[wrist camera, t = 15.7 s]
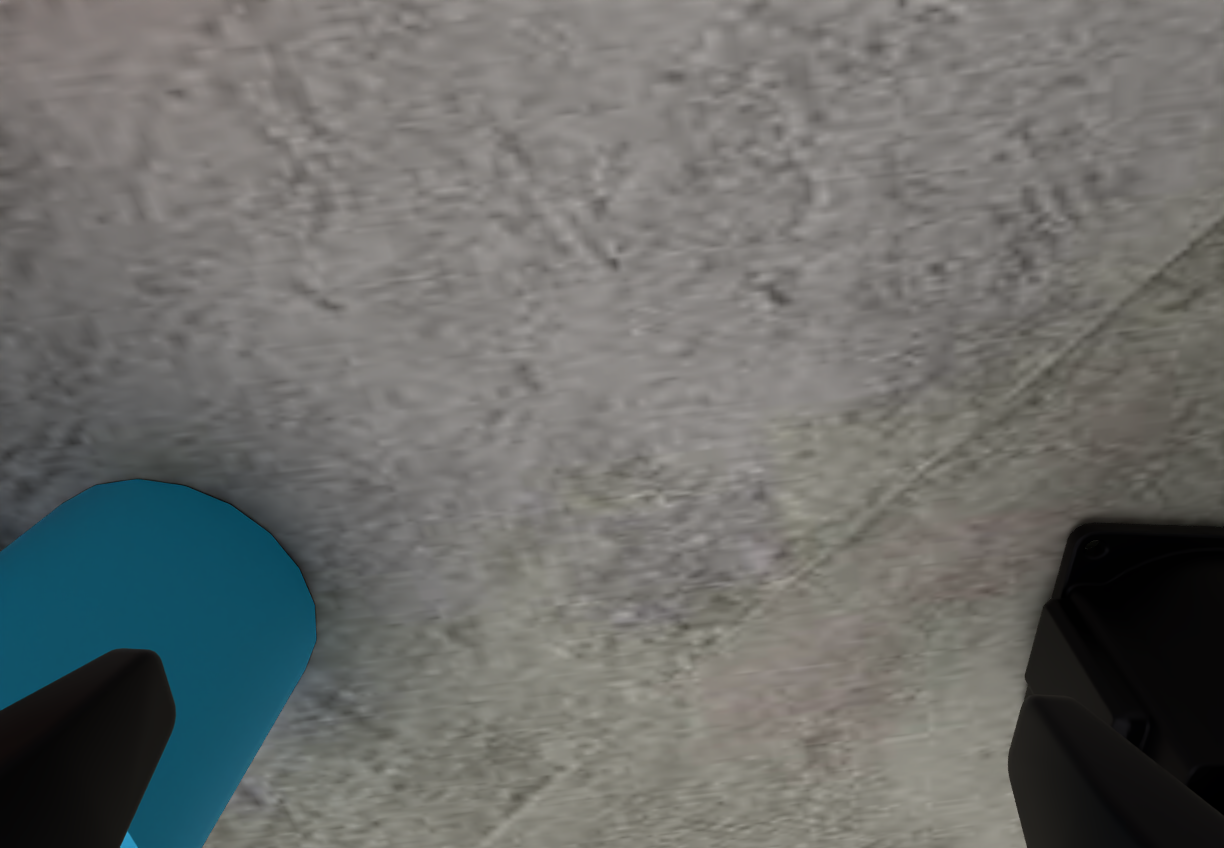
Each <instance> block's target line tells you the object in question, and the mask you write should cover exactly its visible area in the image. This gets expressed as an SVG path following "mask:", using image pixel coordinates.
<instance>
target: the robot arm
mask: <svg viewBox="0 0 1224 848" xmlns="http://www.w3.org/2000/svg"><path fill="white" fill-rule="evenodd" d="M1096 540H1099V542H1098V543H1097V545H1095V546H1094V547H1092V548H1087V549H1086V548H1085V547H1086V546H1087V544H1089V543H1090V542H1092V541H1096ZM1025 680H1026V682H1027V684H1028V687H1027V691H1026V695H1025V699H1024V702H1023V704H1022V707H1021V710H1020V714H1019V717H1018V721H1017V725H1016V728H1015V732H1014V736H1013V739H1012V743H1011V747H1010V751H1009V756H1008V771H1009V778H1010V782H1011V786H1012V790H1013V794H1014V798H1015V802H1016V806H1017V810H1018V814H1019V818H1020V821H1021V825H1022V829H1023V833H1024V837H1025V841H1026V845H1027V848H1224V527H1212V526H1181V525H1150V524H1119V523H1087V524H1083V525H1081V526H1079V527H1077V528H1076V529H1075V530H1074V531H1072V532H1071V534H1070V536H1069V538H1068V540H1067V544H1066V547H1065V551H1064V555H1063V558H1062V562H1061V566H1060V570H1059V573H1058V577H1057V581H1056V584H1055V588H1054V592H1053V595H1052V598H1051V599H1049V601H1048V602H1047V603H1046V604H1045V605H1044V606H1043V609H1042V613H1041V617H1040V621H1039V624H1038V628H1037V632H1036V636H1035V639H1034V643H1033V647H1032V651H1031V654H1030V658H1029V662H1028V666H1027V669H1026V673H1025ZM175 719H176V706H175V702H174V699H173V696H172V693H171V689H170V686H169V683H168V680H167V676H166V673H165V670H164V667H163V663H162V660H161V658H160V656H159V655H158V654H157V653H156V652H155V651H152V650H148V649H130V648H120V649H114V650H111V651H109V652H107V653H105V654H104V655H102V656H100V657H98V658H96V659H94V660H93V661H91V662H89V663H87V664H85V665H83V666H82V667H80V668H78V669H76V670H74V671H72V672H71V673H69V674H67V675H65V676H63V677H61V678H60V679H58V680H56V681H54V682H52V683H50V684H48V685H47V686H45V687H43V688H41V689H39V690H37V691H36V692H34V693H32V694H30V695H28V696H26V697H25V698H23V699H21V700H19V701H17V702H15V703H14V704H12V705H10V706H8V707H6V708H4V709H2V710H1V711H0V848H120V846H121V844H122V842H123V840H124V837H125V835H126V833H127V831H128V829H129V826H130V824H131V822H132V820H133V818H134V815H135V813H136V811H137V809H138V806H139V804H140V802H141V800H142V798H143V795H144V793H145V791H146V789H147V787H148V784H149V782H150V780H151V778H152V775H153V773H154V771H155V769H156V767H157V764H158V762H159V760H160V758H161V756H162V753H163V751H164V749H165V747H166V744H167V742H168V740H169V738H170V736H171V733H172V731H173V728H174V724H175Z"/></svg>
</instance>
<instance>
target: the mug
mask: <svg viewBox="0 0 1224 848" xmlns="http://www.w3.org/2000/svg"><path fill="white" fill-rule="evenodd" d="M316 640H317V639H316V619H315V604H314V602H313V600H312V597H311V595H310V593H309V590H308V588H307V586H306V583H305V581H304V579H303V576H302V574H301V572H300V569H299V568H298V566H297V565H296V564H295V563H294V562H293V560H292V559H291V558H290V557H289V556H288V554H287V553H286V552H285V551H284V550H283V548H282V547H281V546H280V545H279V543H278V542H277V541H276V540H275V539H274V537H273V536H272V535H271V534H270V533H269V532H267V531H266V530H265V529H263V528H262V527H261V526H259V525H258V524H256V523H255V522H254V521H252V520H251V519H250V518H248V517H247V516H245V515H244V514H243V513H241V512H240V511H239V510H237V509H236V508H234V507H233V506H232V505H230V504H228V503H225V502H223V501H220V500H218V499H216V498H213V497H211V496H208V495H206V494H203V493H201V492H199V491H196V490H194V489H191V488H189V487H186V486H183V485H176V484H169V483H162V482H155V481H148V480H141V479H134V480H127V481H120V482H114V483H107V484H100V485H95V486H93V487H91V488H89V489H87V490H86V491H84V492H82V493H80V494H78V495H77V496H75V497H73V498H71V499H69V500H68V501H66V502H64V503H62V504H61V505H60V506H58V507H57V508H56V509H55V510H53V511H52V512H51V513H49V514H48V515H47V516H46V517H44V518H43V519H42V520H41V521H39V522H38V523H37V524H35V525H34V526H33V527H32V528H30V529H29V530H28V531H26V532H25V533H24V534H23V535H21V536H20V537H19V538H17V539H16V540H15V541H14V542H12V543H11V544H10V545H8V546H7V547H6V548H5V549H3V550H2V551H1V552H0V711H1V710H2V709H4V708H6V707H8V706H10V705H12V704H14V703H15V702H17V701H19V700H21V699H23V698H25V697H26V696H28V695H30V694H32V693H34V692H36V691H37V690H39V689H41V688H43V687H45V686H47V685H48V684H50V683H52V682H54V681H56V680H58V679H60V678H61V677H63V676H65V675H67V674H69V673H71V672H72V671H74V670H76V669H78V668H80V667H82V666H83V665H85V664H87V663H89V662H91V661H93V660H94V659H96V658H98V657H100V656H102V655H104V654H105V653H107V652H109V651H111V650H114V649H120V648H130V649H148V650H152V651H155V652H156V653H157V654H158V655H159V656H160V658H161V660H162V663H163V667H164V670H165V673H166V676H167V680H168V683H169V686H170V689H171V693H172V696H173V699H174V702H175V706H176V719H175V724H174V728H173V731H172V733H171V736H170V738H169V740H168V742H167V744H166V747H165V749H164V751H163V753H162V756H161V758H160V760H159V762H158V764H157V767H156V769H155V771H154V773H153V775H152V778H151V780H150V782H149V784H148V787H147V789H146V791H145V793H144V795H143V798H142V800H141V802H140V804H139V806H138V809H137V811H136V813H135V815H134V818H133V820H132V822H131V824H130V826H129V829H128V831H127V833H126V835H125V837H124V840H123V842H122V844H121V846H120V848H202V846H203V845H204V843H205V841H206V840H207V838H208V836H209V834H210V833H211V831H212V829H213V828H214V826H215V824H216V822H217V821H218V819H219V817H220V815H221V814H222V812H223V810H224V809H225V807H226V805H227V803H228V802H229V800H230V798H231V797H232V795H233V793H234V791H235V790H236V788H237V786H238V785H239V783H240V781H241V779H242V778H243V776H244V774H245V772H246V771H247V769H248V767H249V766H250V764H251V762H252V760H253V759H254V757H255V755H256V754H257V752H258V750H259V748H260V747H261V745H262V743H263V741H264V740H265V738H266V736H267V735H268V733H269V731H270V729H271V728H272V726H273V724H274V723H275V721H276V719H277V717H278V716H279V714H280V712H281V711H282V709H283V707H284V705H285V704H286V702H287V700H288V698H289V697H290V695H291V693H292V692H293V690H294V688H295V686H296V685H297V683H298V681H299V680H300V678H301V676H302V674H303V673H304V671H305V669H306V666H307V664H308V661H309V658H310V656H311V653H312V651H313V648H314V645H315V643H316Z"/></svg>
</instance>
